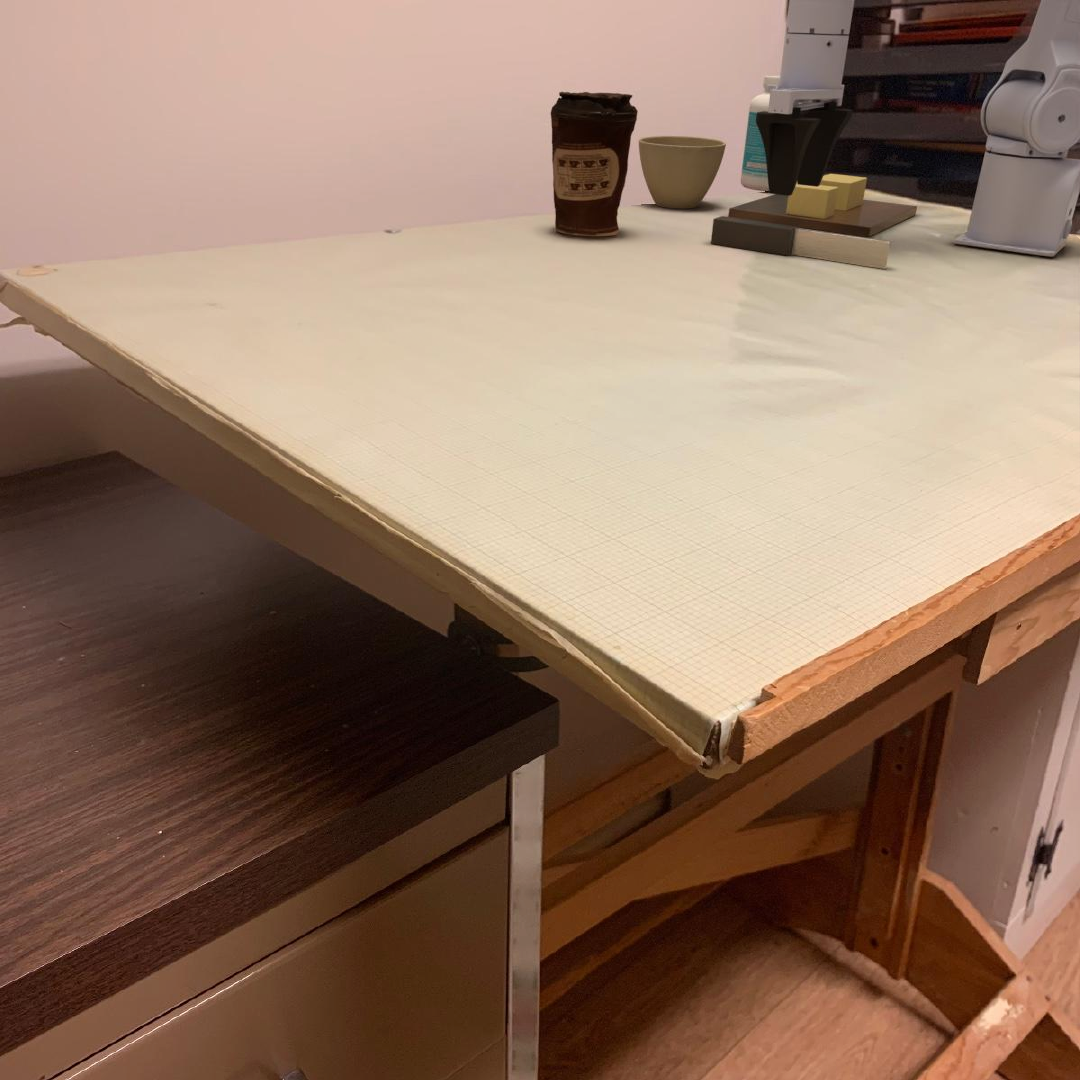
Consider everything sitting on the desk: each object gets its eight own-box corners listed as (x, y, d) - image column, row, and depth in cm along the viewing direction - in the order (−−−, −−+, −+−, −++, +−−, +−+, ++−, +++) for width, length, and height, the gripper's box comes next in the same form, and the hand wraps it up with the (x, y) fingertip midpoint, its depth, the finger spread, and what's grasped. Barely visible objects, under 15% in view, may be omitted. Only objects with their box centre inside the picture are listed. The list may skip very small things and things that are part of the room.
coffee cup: (622, 244, 96) (632, 97, 90) (538, 237, 97) (543, 93, 91) (632, 228, 103) (643, 92, 97) (554, 222, 105) (560, 87, 98)
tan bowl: (630, 196, 121) (635, 134, 118) (712, 199, 121) (719, 137, 118) (637, 211, 112) (642, 143, 109) (724, 214, 113) (732, 147, 109)
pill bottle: (801, 194, 128) (819, 79, 121) (744, 191, 128) (759, 76, 121) (789, 185, 134) (806, 76, 128) (735, 183, 134) (749, 73, 128)
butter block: (862, 204, 116) (867, 177, 114) (845, 211, 111) (850, 183, 110) (826, 200, 118) (830, 173, 116) (808, 206, 113) (812, 178, 112)
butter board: (915, 214, 117) (917, 206, 116) (868, 237, 103) (870, 227, 103) (786, 198, 124) (788, 190, 124) (727, 217, 111) (729, 208, 110)
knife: (888, 266, 91) (893, 240, 90) (882, 270, 89) (887, 243, 88) (719, 240, 99) (721, 215, 98) (710, 243, 97) (713, 218, 96)
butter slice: (833, 215, 108) (838, 187, 107) (824, 219, 106) (829, 190, 105) (795, 210, 110) (799, 182, 109) (785, 214, 108) (789, 185, 107)
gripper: (803, 33, 98) (783, 177, 104) (745, 32, 87) (727, 193, 94) (873, 35, 95) (848, 184, 101) (822, 35, 84) (798, 202, 90)
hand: (794, 189), depth 97 cm, fingers open, 7 cm apart
